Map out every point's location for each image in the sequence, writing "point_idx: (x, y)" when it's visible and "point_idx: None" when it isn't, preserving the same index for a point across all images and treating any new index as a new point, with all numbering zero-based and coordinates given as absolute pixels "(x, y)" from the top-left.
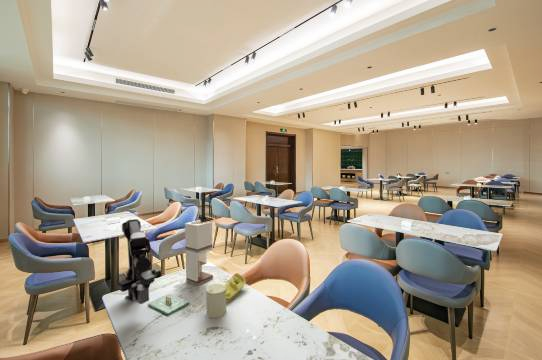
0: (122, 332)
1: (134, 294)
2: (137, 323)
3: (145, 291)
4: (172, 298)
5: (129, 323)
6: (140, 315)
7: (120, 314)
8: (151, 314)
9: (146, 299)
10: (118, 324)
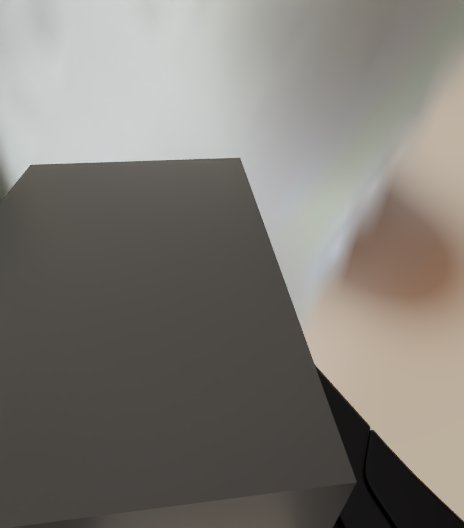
0: (453, 36)
1: (356, 424)
2: (268, 62)
3: (40, 378)
4: None
5: (307, 142)
6: None
7: None
8: (63, 103)
9: (86, 186)
10: (358, 209)
